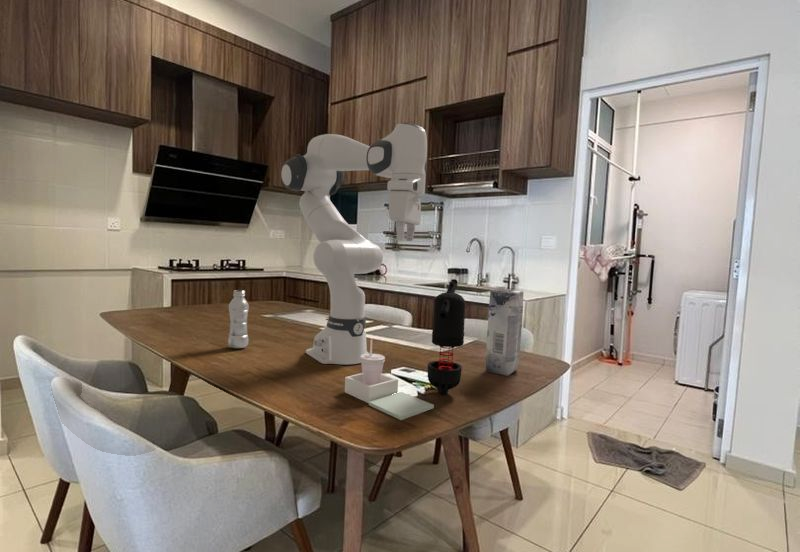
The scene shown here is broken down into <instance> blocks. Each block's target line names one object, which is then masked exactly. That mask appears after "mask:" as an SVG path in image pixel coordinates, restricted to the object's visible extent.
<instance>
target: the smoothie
mask: <svg viewBox="0 0 800 552" xmlns="http://www.w3.org/2000/svg"><path fill="white" fill-rule="evenodd" d="M373 340H374V339H370V343H369V344H370V346H369V354H363V355H361V356H360V361H361V363H360V364H361V373H362V377H363V383H365V384H367V385H370V386H371V385H375V384H378V383H380V380H381V374H383V367H384V362H385V361H386V357H385V356H384V355H383V354H379V353H373Z"/></svg>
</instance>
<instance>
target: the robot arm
mask: <svg viewBox="0 0 800 552" xmlns="http://www.w3.org/2000/svg"><path fill="white" fill-rule="evenodd" d="M427 157H428V137H427V132H426V130H425V129H424V127H422V126H421V125H418V124H414V123H410V122H409V123H408V122H399V123H397V124H396V125H395V127H394V129H393V131H391V133H389V134H387V135H386V136H385V137H383V138H382V139H381V138H380V139H378V140H375V141H374V142H372V143H371V145H367V144H365V143H362V142H360V141H357V140H355V139H354V138H351V137H348V136H346V135H341V134H336V133H325V134H320V135H317V136H315V137H314V136H313V138H311V139H310V141H309V142H308V145H307V151H306V153H305V154H304V155H301V154H299V153H297V154H296V155H294V157H291V158H289V159H287V160H285V162H284V163H283V164H282V167H281V168H280V178H281V182H282V184H283V186H284V187H285V188H286V189H287V190H289V191H294V192H300V191H302V192H304V193H303V194H302V195H301V197H300V198H299V209H300V211H301V213H302V216H303V218H304V220H305V221H306V224H307V225H308V226H309V228H310V230H311V232H312V233H313V234H314V236H315V237H316V239H317V240H318V242H319V243H318V244H317V245H316V247H315V248H314V252H313V263H314V266H315V268H316V269H317V270H318V271H319V272H320V274H322V275H323V276H324V278H325V279H326V282H327V285H328V288H329V294H330V315H329V316H325V321H326V322H327V323H326V325H325V326H326V327H324V328H323V329H322V330H321V331H319V332H318V333H317V334H316V335H315V336H314V337H313V344H312V345H313V346H312V347H310V348H308V349H306V350H305V353H306V354H307V355H308V356H310V357H311V358H313V359H314V360H316V361H318V362H319V363H321V364H324V365H328V364H330V365H331V364H333V365H357V364H361V361H360V356H361V355H363V354H370V351H368V347H367V332H366V331H365V329H366V324H367V323H366V321H367V320H366V316H365V312H366V311H365V307H366V294H365V292H364V290H363V289H362V288H361V287H359V286H358V284H357V283H356V279H355V275H362V274H364V275H365V274H369V273H373V272H375V271H377V270H378V269H380V267H381V265H382V263H383V260H384V259H383V258H384V257H383V256H384V255H383V251H382V249H381V248H380V246H379V245H378V244H376V243H375V242H372V241H370V240H369V239H367V238H365V237H364V236H363V235H361V233H359V232H358V231H357V230H356V229H354V228H353V227H352V226H351V225H350V224H349V223H348V222H347V221H346V219H344V217H343V216H342V215H341V213H340V212H339V210H338V209H337V207H336V206H335V205H334V204H333V202H332V201H331V199H330V197H331V196H334V195H335V194H336V193H337V191H338V189H339V188H340V187H341V186H342V183H343V182H344V178H345V173H344V172H349V171H350V172H351V171H352V172H353V171H369V172H370V173H371V174H373V175H375V176H378V177H381V178H382V177H383V178H387V179H389V181H387V187H386V189H387V191H389V193H388V215H389V219H390V221H391V222H395V231H396V241H406V242H413V241H414V234H415V230H416V226H420V225H421V221H422V219H421V217H422V216H421V215H422V202H421V201H422V200H421V198H420V197H423V196H425V194H426V193H425V192H426V176H427V175H426V171H427V167H428V165H427V164H428V162H427ZM405 227H406V234H405Z"/></svg>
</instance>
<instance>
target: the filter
mask: <svg viewBox="0 0 800 552" xmlns="http://www.w3.org/2000/svg"><path fill="white" fill-rule="evenodd" d="M448 284H449V285H448V287H447V290H446V292H445V291H444V292H442V293H440V294H438V295H436V297H435V299H434V300H433V302H434V303H433V319H432V320H433V322H432V331H431V334H432V335H431V343H432V344H433V345H435V346H439V353H438V355H439V357H441V356H442V358H439V359H438V360H432V361H429V362H427V381H428V382H429V384H430V385H431V386H433V387H434V388H436V389H437V390H438V394H439V395H442V396H446V395H448V394H449V390H451V389H454V388H456V387H457V386H458V385H460V382H461V377H462V376H461V375H462V369H463V366H462V364H460V363H457V362H454V360H453V358H454V357H453V356H454V353H453V352H454V348H459V347H462V346H464V344H465V343H464V342H465V339H464V338H465V319H466V318H465V317H466V300H465V298H464V297H463V296H462V295H460V294H459V293H457V292H456V289H457V287H458V280H457V279H455V278H453V279H451V280H450V281H449V283H448ZM442 349H444V350H445V349H447V350H451V352H450V351H441V350H442ZM444 357H448V358H444ZM450 357H451V359H449V358H450Z"/></svg>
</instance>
